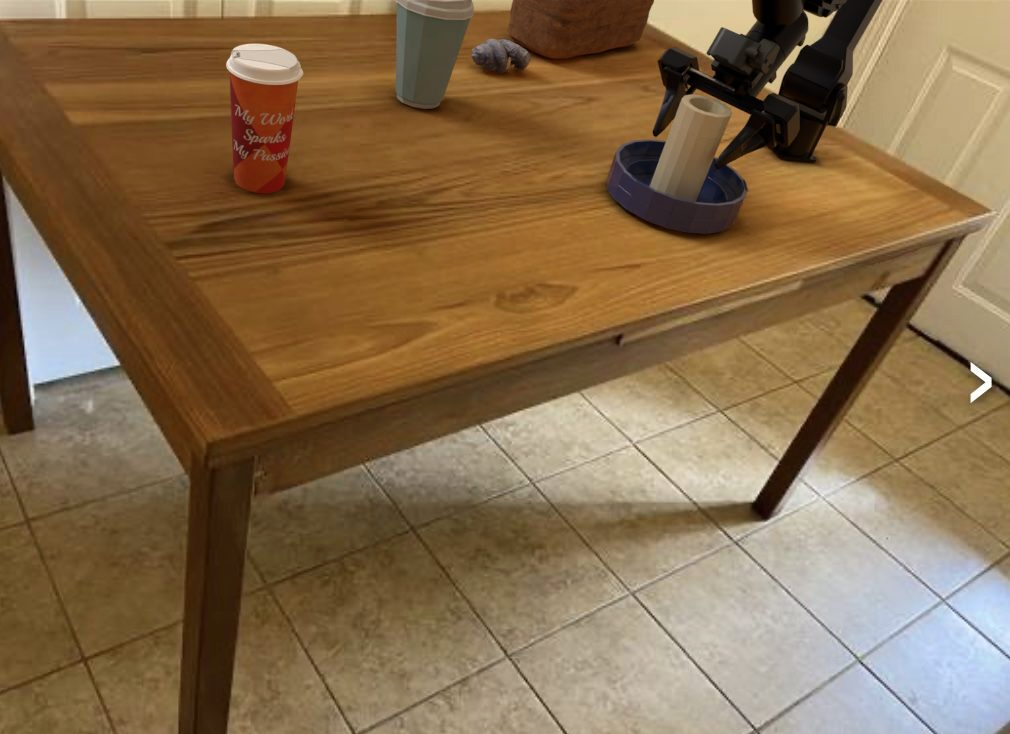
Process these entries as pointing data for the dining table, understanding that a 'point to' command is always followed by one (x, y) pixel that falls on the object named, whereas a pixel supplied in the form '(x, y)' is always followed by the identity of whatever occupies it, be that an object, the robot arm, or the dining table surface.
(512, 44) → the grey croissant
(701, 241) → the dining table surface
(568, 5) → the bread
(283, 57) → the paper cup
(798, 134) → the robot arm
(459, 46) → the disposable coffee cup
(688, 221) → the bowl
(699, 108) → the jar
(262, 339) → the dining table surface
